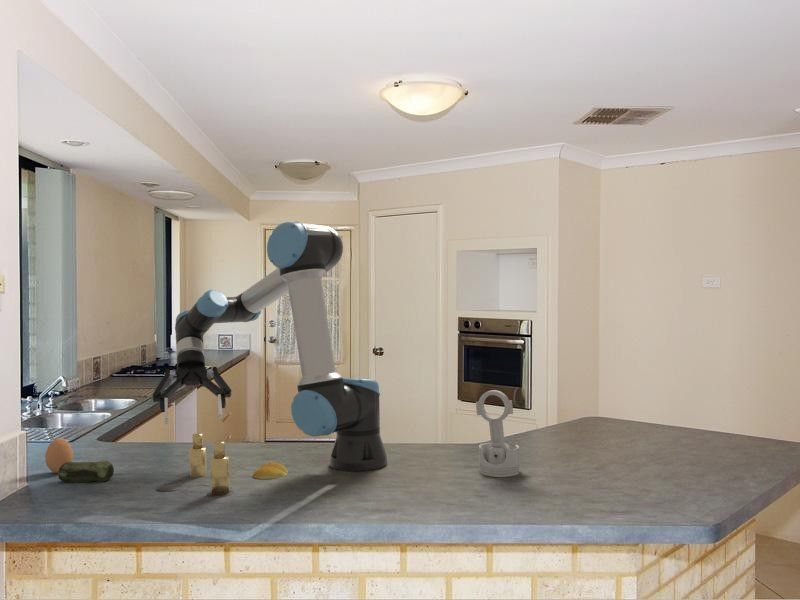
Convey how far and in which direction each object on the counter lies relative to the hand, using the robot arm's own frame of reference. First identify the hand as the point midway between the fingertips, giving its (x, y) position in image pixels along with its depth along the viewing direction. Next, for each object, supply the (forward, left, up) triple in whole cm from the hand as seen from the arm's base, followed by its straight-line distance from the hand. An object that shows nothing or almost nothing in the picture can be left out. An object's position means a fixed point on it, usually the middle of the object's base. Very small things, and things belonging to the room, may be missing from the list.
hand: (194, 419), depth 180 cm
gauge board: (-15, +19, -14) cm, 28 cm away
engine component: (-76, -22, -14) cm, 80 cm away
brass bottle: (-7, +7, -14) cm, 17 cm away
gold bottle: (-22, +19, -12) cm, 31 cm away
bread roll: (-24, +1, -14) cm, 27 cm away
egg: (+34, +11, -14) cm, 39 cm away
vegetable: (+21, +16, -14) cm, 30 cm away
